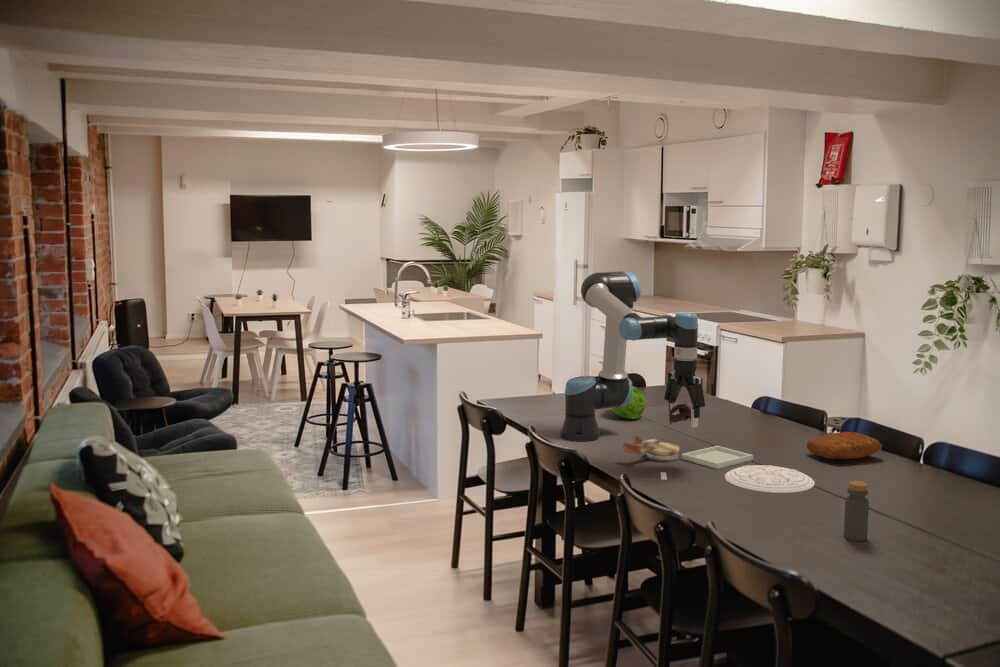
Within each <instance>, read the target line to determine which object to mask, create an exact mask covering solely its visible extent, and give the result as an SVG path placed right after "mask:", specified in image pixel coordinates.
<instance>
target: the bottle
mask: <svg viewBox="0 0 1000 667" xmlns="http://www.w3.org/2000/svg"><path fill="white" fill-rule="evenodd" d="M868 485H869V484H868V483H866V482H865V481H861V480H860V481H859V480H851V481H848V488H847V491H846V492H847V494H848V496H846V497H845V501H844V503H845V504H844V523H843V537H844V538H845V539H846V540H849V541H853V542H865V541H866V540H868V531H869V530H868V529H869V508H870V500H869V499H868V498H867V497H866V496H868V495H869V490H868V489H867V488H868Z"/></svg>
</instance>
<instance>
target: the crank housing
mask: <svg viewBox="0 0 1000 667" xmlns="http://www.w3.org/2000/svg"><path fill="white" fill-rule="evenodd" d="M678 458H679V453H677V454H672V455H658V454H652V453H649V452H647V451H646V459H649V460H652V461H655V462H672V461H673V462H674V461H677V460H678Z"/></svg>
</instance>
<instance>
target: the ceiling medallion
mask: <svg viewBox="0 0 1000 667" xmlns="http://www.w3.org/2000/svg"><path fill="white" fill-rule="evenodd" d="M724 479H725V480H726V481H727V482H728V483H729V484H732V485H733V486H736V487H739V488H742V489H745V490H748V491H754V492H760V493H761V492H762V493H769V494H770V493H772V494H792V493H794V494H795V493H801V492H805V491H809V490H810V489H813V488H814V486H815V480H814V479H813V478H812V477H811V476H809V475H807V474H805V473H803V472H801V471H799V470H797V469H794V468H787V467H782V466H775V465H771V464H768V465H764V464H763V465H757V464H754V465H748V464H747V465H742V466H740V467H736V468H733V469H731V470H728V472H726V473H725V474H724Z"/></svg>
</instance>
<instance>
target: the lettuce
mask: <svg viewBox="0 0 1000 667" xmlns="http://www.w3.org/2000/svg"><path fill="white" fill-rule="evenodd" d="M632 386H633V395H632V399H631V401H630V402H629V403H628V404H627V405H626V406H624V407H619V408H610V409H611V411H612V412H613V413H615V415H616V416H617V417H619V418H623V419H627V420H638V419H639V418H640V416H641V415H642V414H643V413H644V411H645V410H646V407H647V400H646V399H647V398H646V397H645V395H644V393H643V390H641V389H639V388H638V387H636V386H634V385H632Z"/></svg>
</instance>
